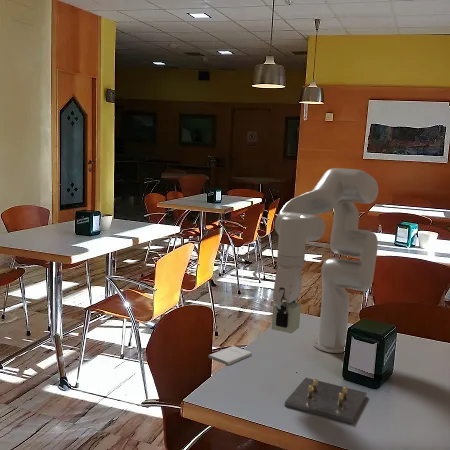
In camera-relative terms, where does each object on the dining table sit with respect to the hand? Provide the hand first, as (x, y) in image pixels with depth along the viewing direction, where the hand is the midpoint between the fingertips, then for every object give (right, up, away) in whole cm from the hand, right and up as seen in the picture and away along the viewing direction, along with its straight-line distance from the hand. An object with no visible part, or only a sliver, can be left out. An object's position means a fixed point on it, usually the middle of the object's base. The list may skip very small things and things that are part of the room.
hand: (285, 322), depth 152 cm
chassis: (+11, -21, -4) cm, 24 cm away
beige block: (0, -2, 0) cm, 2 cm away
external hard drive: (-15, -16, +24) cm, 33 cm away
